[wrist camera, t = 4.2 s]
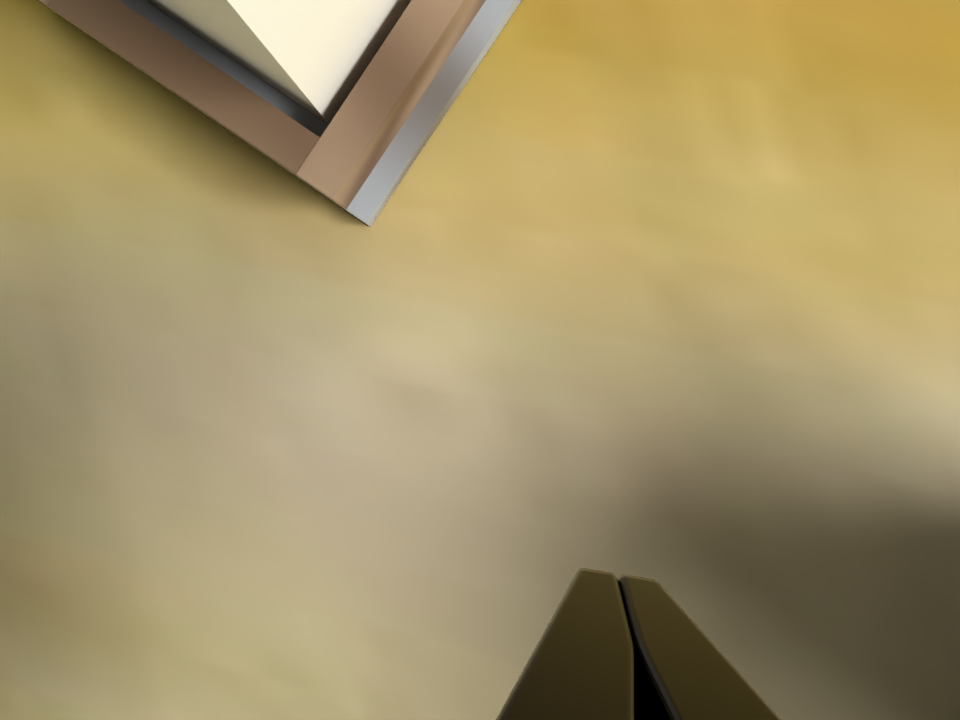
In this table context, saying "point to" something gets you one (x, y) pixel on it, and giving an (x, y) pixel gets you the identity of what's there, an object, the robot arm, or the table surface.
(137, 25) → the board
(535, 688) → the robot arm
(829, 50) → the table surface
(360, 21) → the white juice carton
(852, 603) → the table surface
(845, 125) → the table surface
